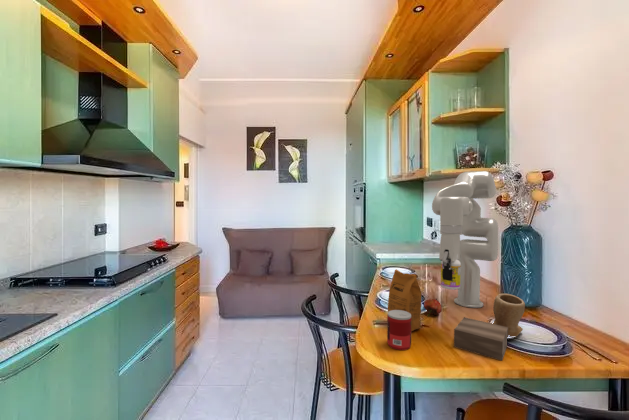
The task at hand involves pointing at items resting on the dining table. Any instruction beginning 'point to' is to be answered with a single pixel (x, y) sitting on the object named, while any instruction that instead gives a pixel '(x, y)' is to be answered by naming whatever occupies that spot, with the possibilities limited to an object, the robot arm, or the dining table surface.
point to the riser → (481, 338)
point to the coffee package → (406, 296)
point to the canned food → (399, 329)
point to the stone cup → (508, 312)
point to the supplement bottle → (455, 276)
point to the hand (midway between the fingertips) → (450, 277)
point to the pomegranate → (433, 306)
